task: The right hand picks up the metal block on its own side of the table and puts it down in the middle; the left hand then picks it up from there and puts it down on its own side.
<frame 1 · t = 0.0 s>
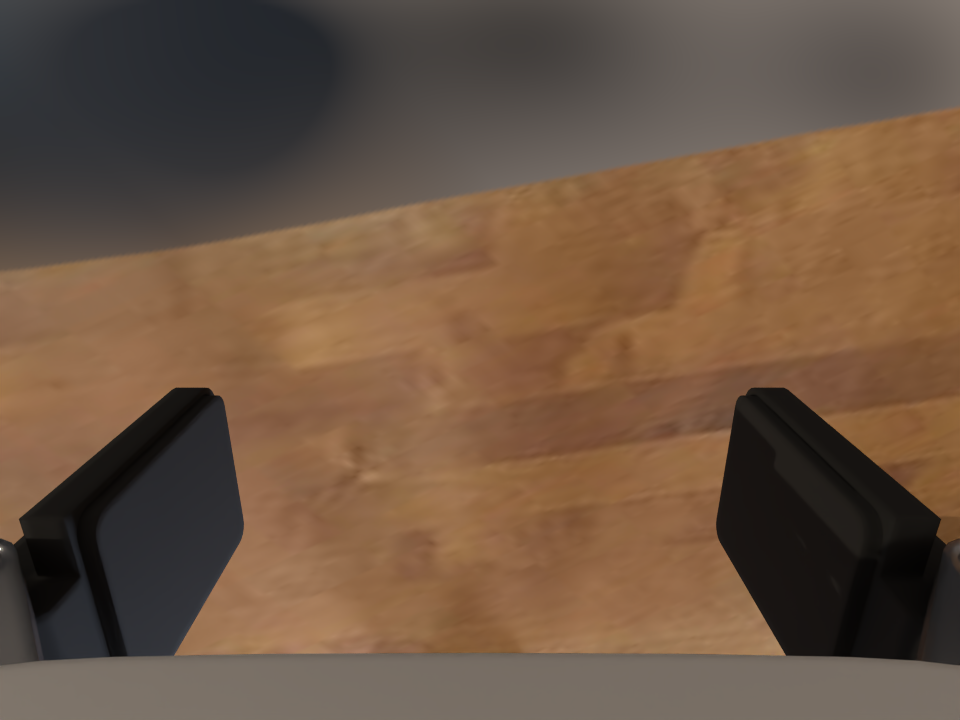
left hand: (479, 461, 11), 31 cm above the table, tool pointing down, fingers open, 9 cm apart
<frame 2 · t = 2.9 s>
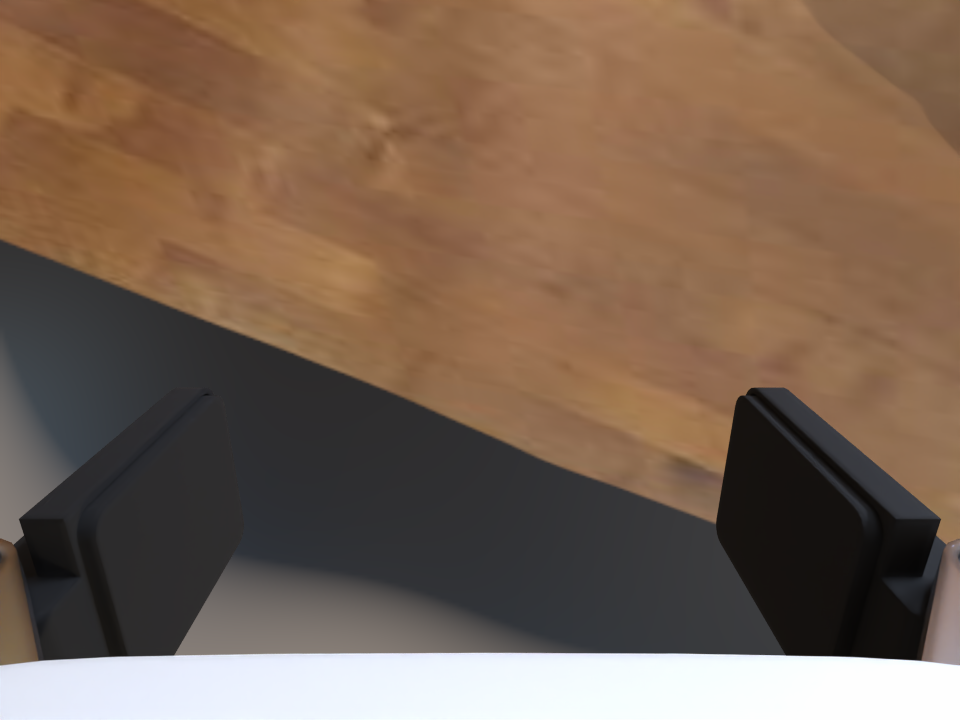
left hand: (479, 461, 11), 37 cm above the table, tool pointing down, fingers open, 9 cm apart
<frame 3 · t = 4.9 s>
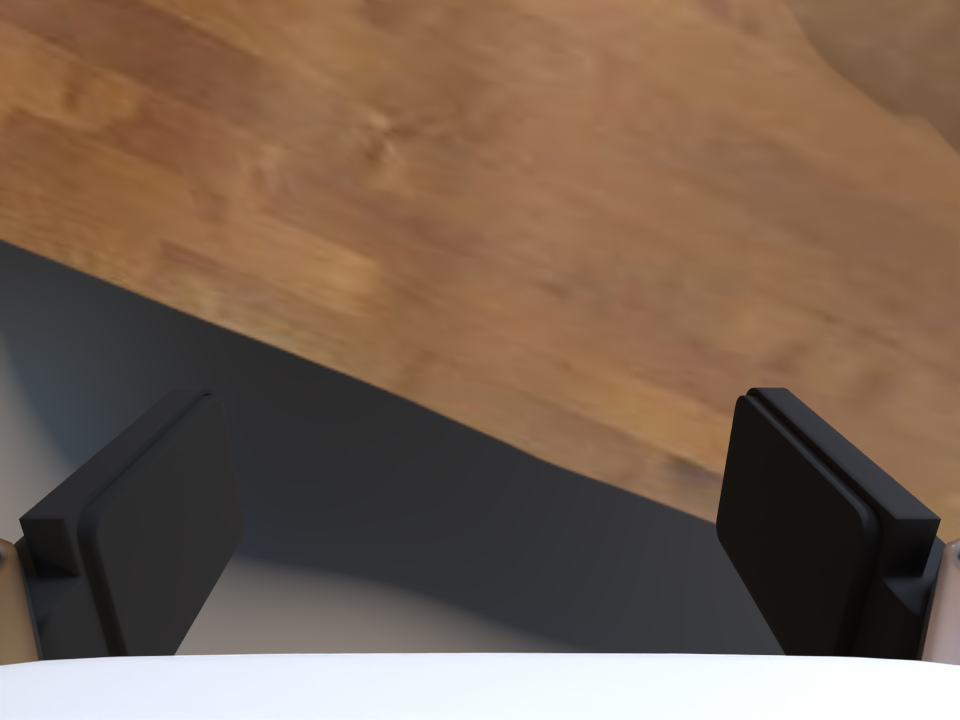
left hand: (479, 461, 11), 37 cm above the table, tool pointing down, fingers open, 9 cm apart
when the right hand's fingers open (2 cm above the table, at t = 7.4 s): block stays where it is, on the table.
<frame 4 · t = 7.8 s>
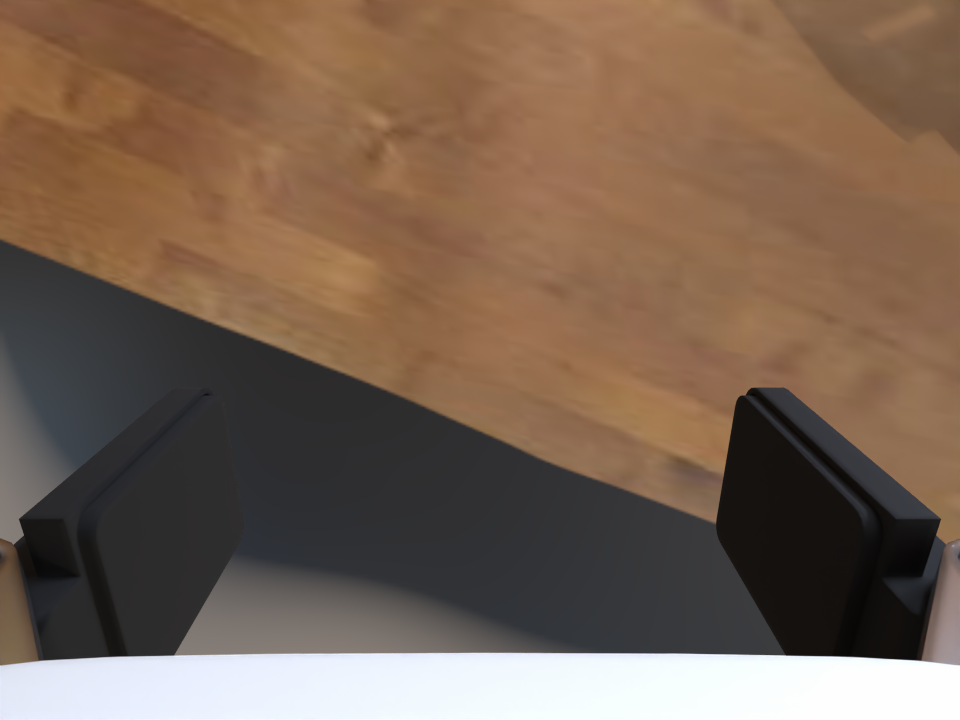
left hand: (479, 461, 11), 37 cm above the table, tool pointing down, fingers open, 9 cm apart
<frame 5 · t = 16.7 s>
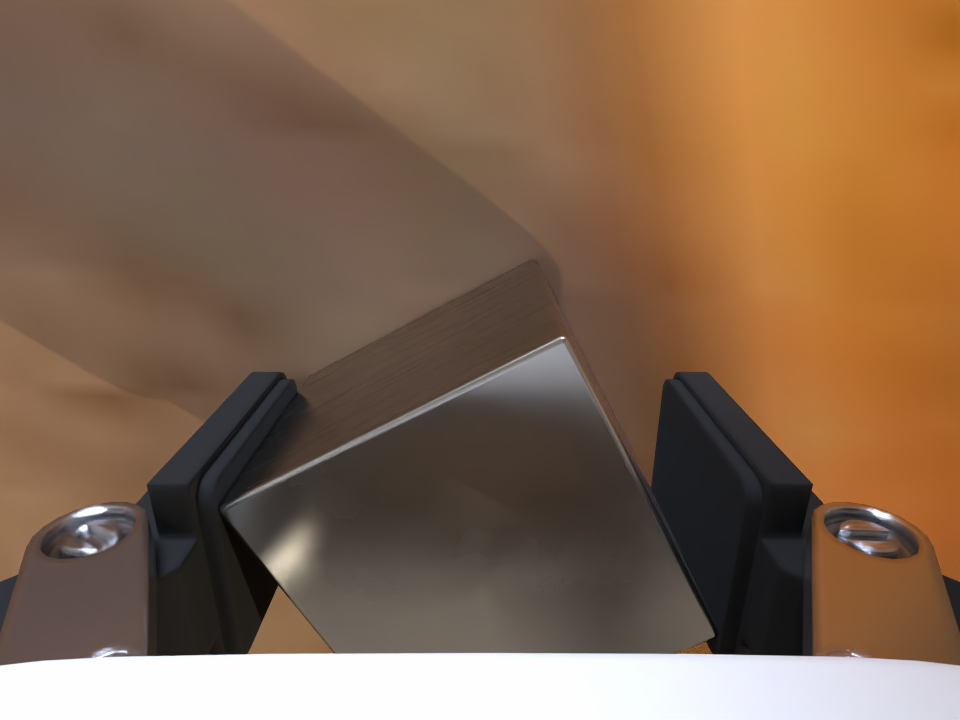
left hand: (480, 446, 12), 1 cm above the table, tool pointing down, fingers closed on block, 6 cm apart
block: (479, 424, 12), on the table, touching left hand
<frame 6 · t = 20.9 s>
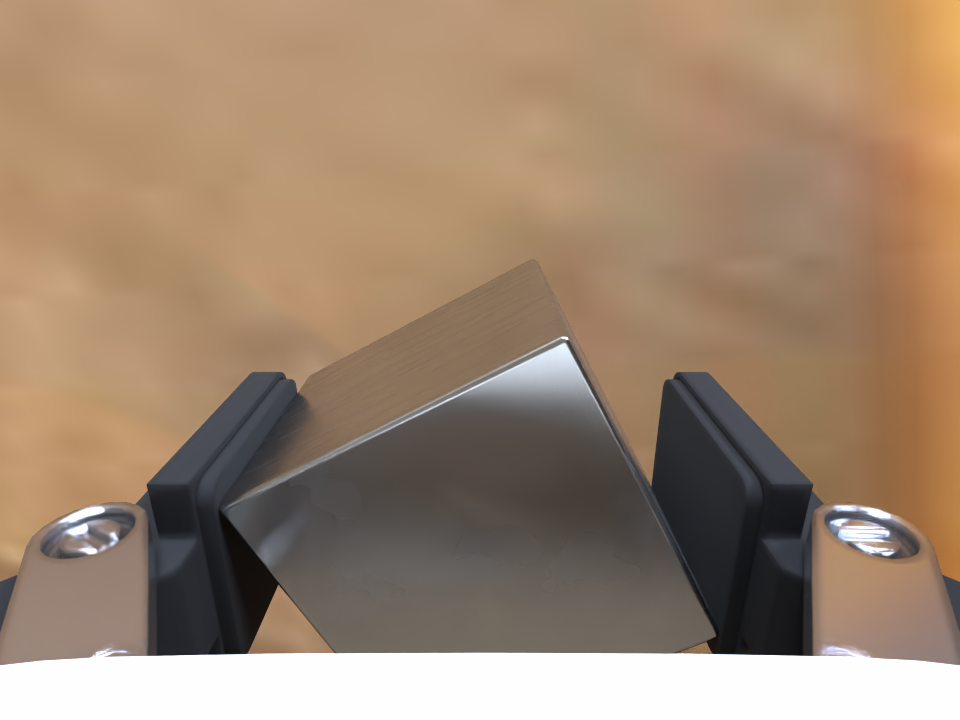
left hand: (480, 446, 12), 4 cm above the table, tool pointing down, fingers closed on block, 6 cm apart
block: (480, 424, 12), point 3 cm above the table, touching left hand
when the left hand's fingers open (1 cm above the table, at t = 25.5 s): block stays where it is, on the table.
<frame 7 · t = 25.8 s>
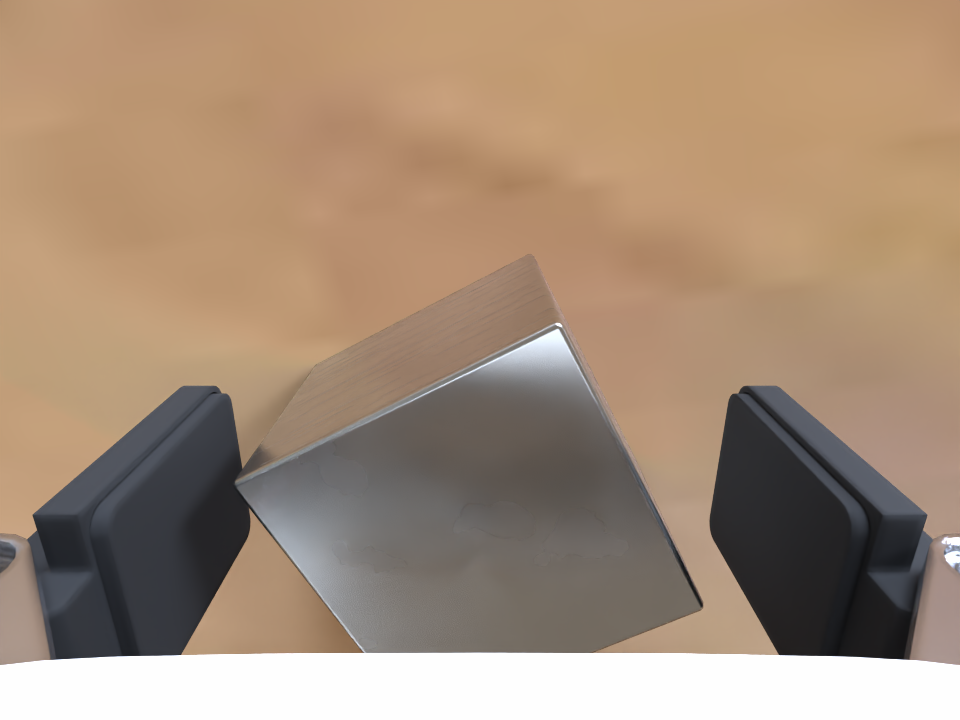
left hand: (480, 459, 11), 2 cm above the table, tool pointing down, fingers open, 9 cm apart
block: (478, 412, 13), on the table
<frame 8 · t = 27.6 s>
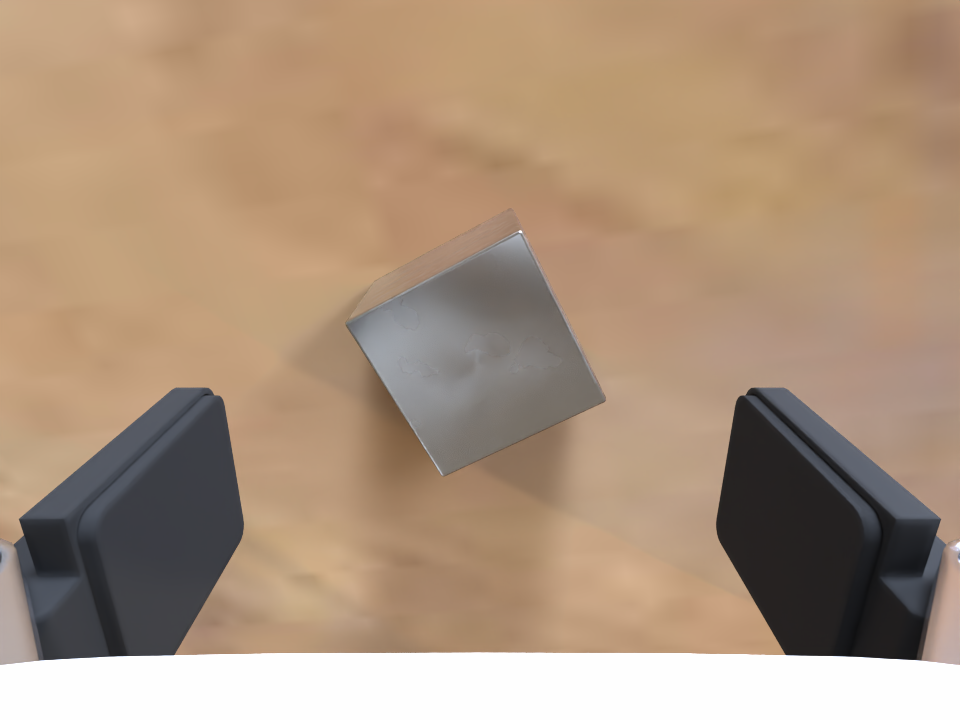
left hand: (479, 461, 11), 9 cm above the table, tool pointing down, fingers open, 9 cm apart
block: (478, 313, 20), on the table
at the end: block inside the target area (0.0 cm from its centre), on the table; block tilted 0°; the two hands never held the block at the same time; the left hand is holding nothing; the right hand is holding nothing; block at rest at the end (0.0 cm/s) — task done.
